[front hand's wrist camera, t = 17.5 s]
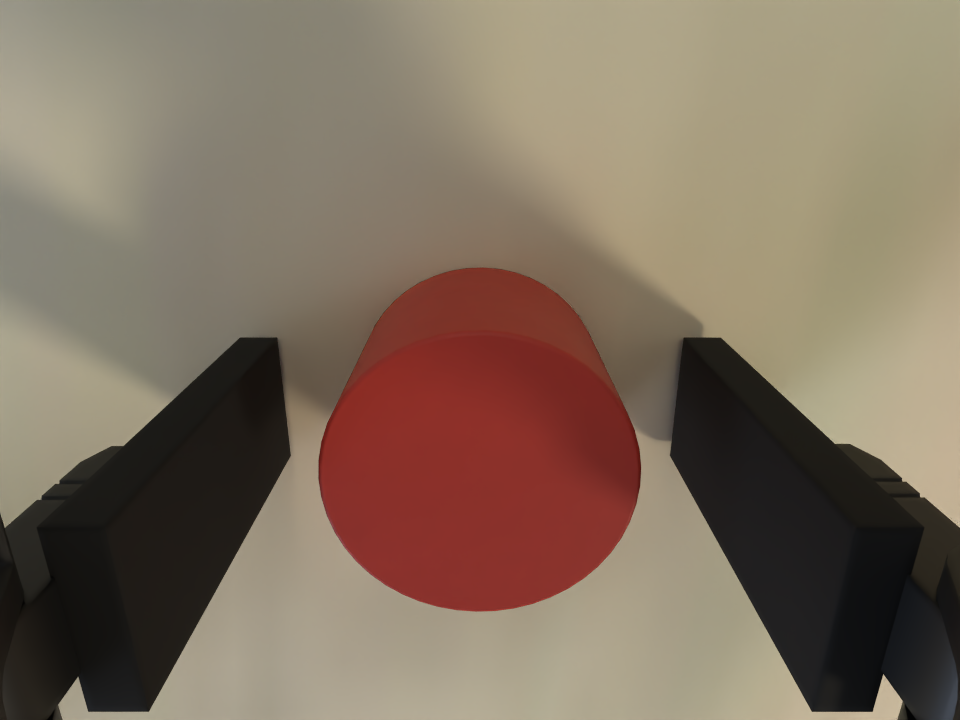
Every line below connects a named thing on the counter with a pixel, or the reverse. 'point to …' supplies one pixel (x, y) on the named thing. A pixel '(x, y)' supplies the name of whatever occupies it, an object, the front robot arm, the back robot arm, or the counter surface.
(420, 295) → the can
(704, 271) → the counter surface
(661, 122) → the counter surface
